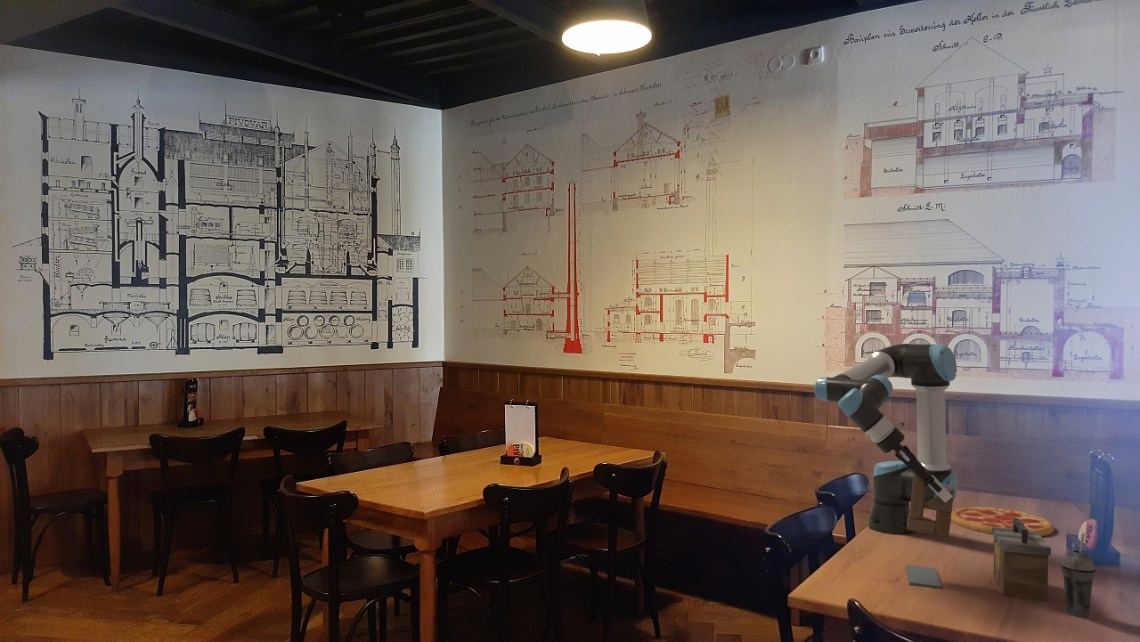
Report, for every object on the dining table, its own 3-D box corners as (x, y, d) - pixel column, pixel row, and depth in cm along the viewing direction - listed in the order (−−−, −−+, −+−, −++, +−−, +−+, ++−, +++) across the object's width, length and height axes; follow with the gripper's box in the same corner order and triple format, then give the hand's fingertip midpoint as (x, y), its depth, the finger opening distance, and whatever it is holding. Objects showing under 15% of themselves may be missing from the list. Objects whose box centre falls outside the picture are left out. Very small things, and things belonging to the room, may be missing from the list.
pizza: (1074, 539, 257) (1074, 531, 257) (978, 538, 258) (978, 529, 258) (1020, 514, 289) (1020, 507, 289) (934, 513, 290) (935, 505, 290)
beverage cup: (1053, 608, 195) (1054, 529, 195) (1080, 607, 196) (1081, 529, 195) (1074, 619, 188) (1075, 538, 187) (1102, 618, 188) (1103, 537, 188)
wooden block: (948, 537, 215) (955, 475, 213) (907, 530, 219) (913, 469, 217) (947, 533, 219) (954, 472, 217) (906, 525, 223) (913, 466, 221)
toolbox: (991, 575, 219) (992, 514, 219) (1035, 580, 215) (1036, 518, 215) (1002, 596, 203) (1003, 529, 203) (1050, 601, 199) (1051, 534, 199)
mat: (905, 566, 226) (905, 564, 226) (935, 570, 224) (935, 567, 224) (909, 584, 211) (909, 582, 211) (941, 588, 208) (941, 586, 208)
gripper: (873, 439, 229) (933, 499, 224) (876, 448, 213) (941, 513, 208) (893, 422, 228) (953, 482, 222) (897, 430, 212) (963, 495, 206)
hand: (947, 497), depth 215 cm, fingers open, 4 cm apart
